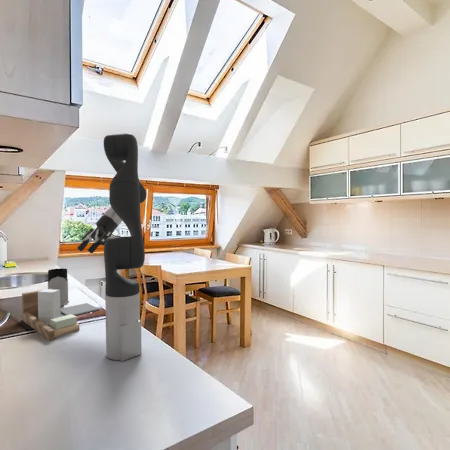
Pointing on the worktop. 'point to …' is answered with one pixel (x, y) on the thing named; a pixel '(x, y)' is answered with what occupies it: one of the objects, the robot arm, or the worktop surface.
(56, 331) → the offcut bottom
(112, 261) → the robot arm
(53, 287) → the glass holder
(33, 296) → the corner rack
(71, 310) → the rubber mat
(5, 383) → the worktop surface
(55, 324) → the offcut top
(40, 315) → the skincare box
